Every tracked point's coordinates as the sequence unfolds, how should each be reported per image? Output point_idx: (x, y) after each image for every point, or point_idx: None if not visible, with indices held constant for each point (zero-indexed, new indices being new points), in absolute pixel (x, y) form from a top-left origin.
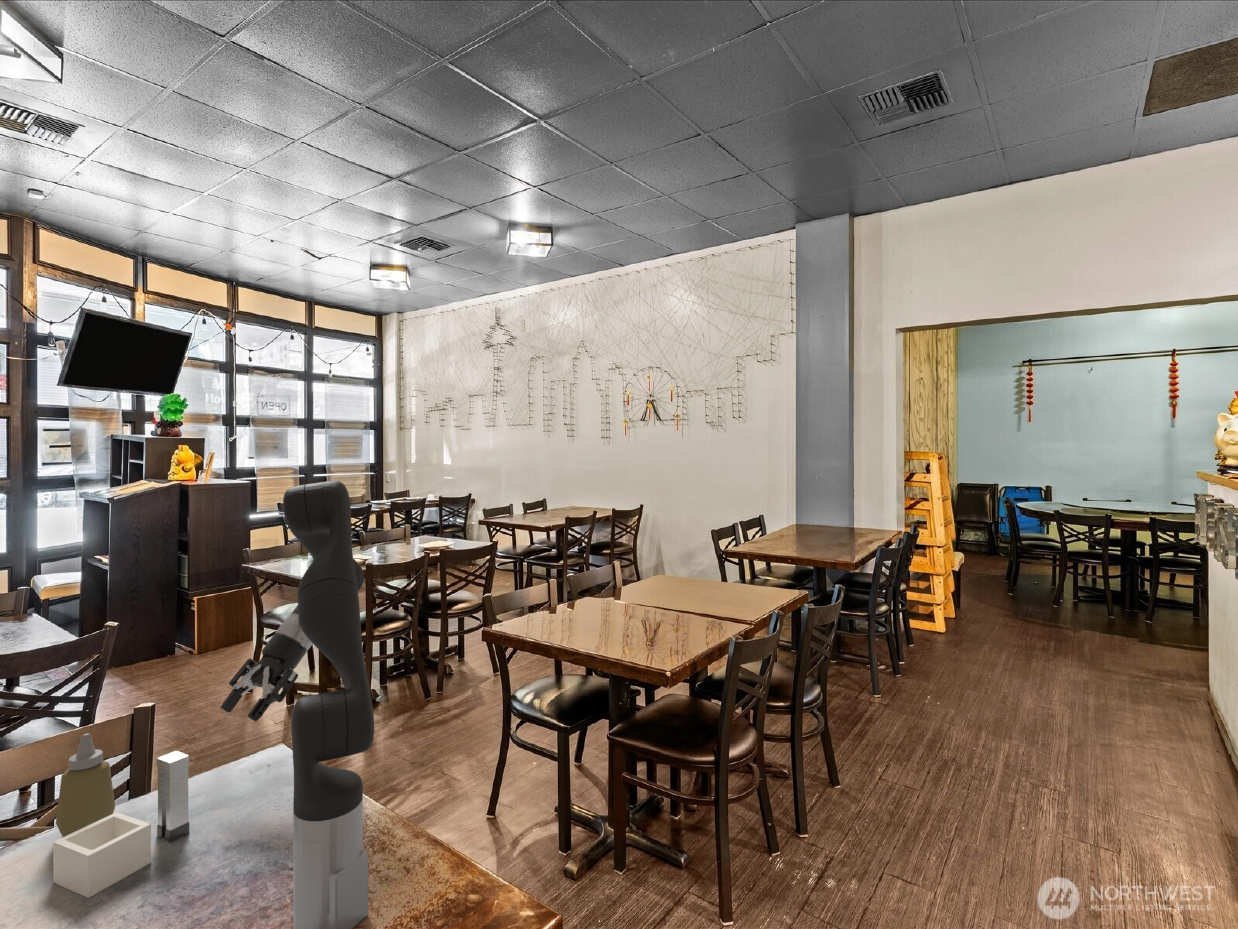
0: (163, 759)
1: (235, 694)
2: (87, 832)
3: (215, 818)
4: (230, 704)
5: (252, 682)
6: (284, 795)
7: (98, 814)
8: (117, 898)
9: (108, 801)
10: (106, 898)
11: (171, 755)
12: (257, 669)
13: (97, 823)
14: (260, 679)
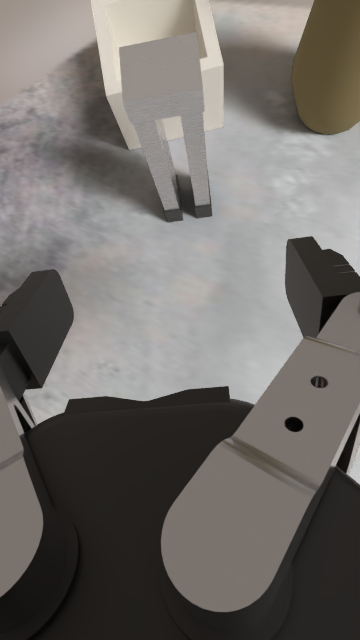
0: (167, 42)
1: (313, 305)
2: (198, 20)
3: (178, 274)
4: (296, 284)
5: (221, 395)
6: None
7: (296, 69)
8: (79, 94)
9: (313, 74)
10: (93, 85)
11: (174, 66)
12: (194, 485)
13: (205, 30)
14: (104, 430)
